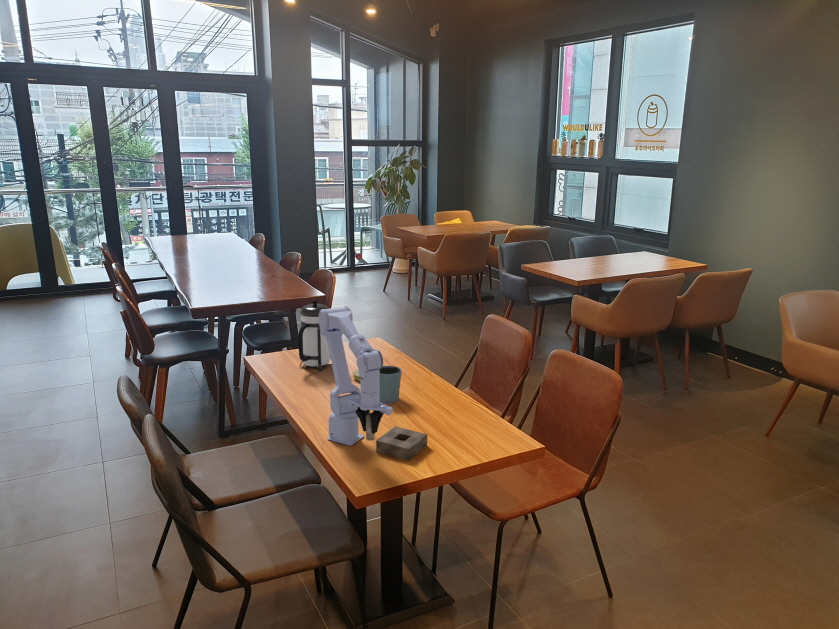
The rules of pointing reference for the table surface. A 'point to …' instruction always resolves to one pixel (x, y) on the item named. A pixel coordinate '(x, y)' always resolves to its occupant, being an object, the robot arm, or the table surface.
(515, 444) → the table surface
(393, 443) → the square block with hole
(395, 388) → the teal cup
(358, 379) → the decorated donut
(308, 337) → the coffee press
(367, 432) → the dowel
